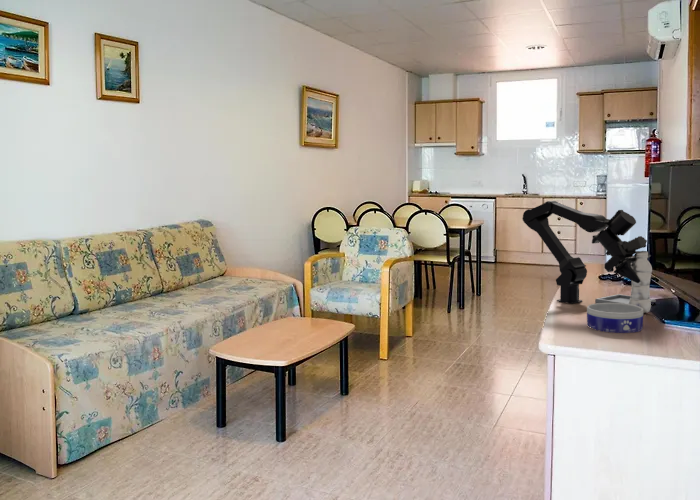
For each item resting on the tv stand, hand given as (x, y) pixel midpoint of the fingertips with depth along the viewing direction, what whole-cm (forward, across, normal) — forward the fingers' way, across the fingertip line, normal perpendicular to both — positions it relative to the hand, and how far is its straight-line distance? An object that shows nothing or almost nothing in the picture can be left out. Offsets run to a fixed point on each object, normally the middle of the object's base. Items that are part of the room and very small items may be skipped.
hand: (644, 281), depth 195 cm
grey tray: (-2, +11, +17) cm, 20 cm away
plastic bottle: (+7, 0, +9) cm, 11 cm away
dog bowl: (+10, -23, +5) cm, 26 cm away
